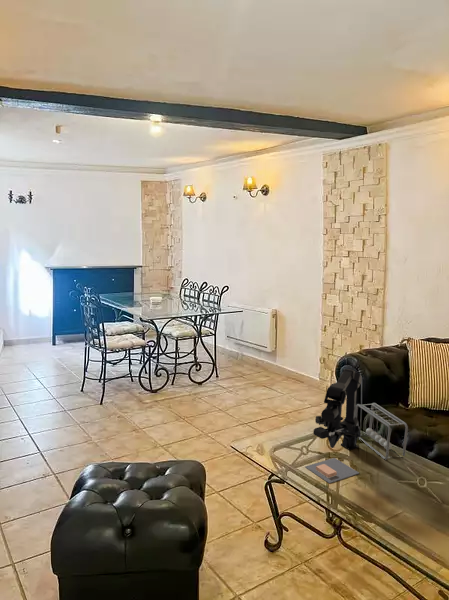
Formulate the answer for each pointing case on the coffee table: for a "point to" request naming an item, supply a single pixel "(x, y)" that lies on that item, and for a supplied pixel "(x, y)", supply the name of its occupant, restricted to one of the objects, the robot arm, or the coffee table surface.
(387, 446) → the newton's cradle
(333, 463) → the mat
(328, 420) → the robot arm
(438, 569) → the coffee table surface
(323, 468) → the tile
